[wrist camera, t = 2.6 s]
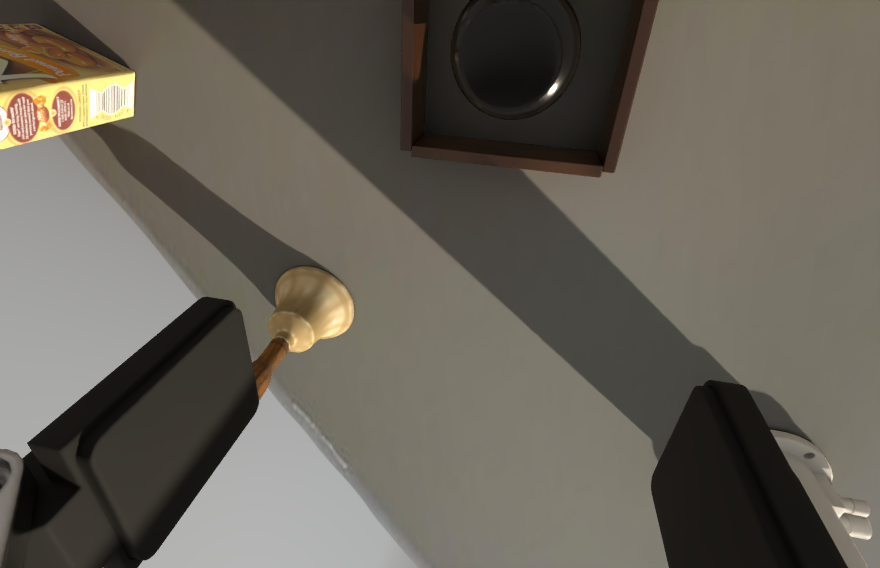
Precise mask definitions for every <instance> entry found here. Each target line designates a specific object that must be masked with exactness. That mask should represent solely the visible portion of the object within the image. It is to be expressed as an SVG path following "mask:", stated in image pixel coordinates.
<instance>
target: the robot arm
mask: <svg viewBox="0 0 880 568" xmlns="http://www.w3.org/2000/svg"><path fill="white" fill-rule="evenodd" d="M258 404H259V395H258V390H257V385H256V380H255V375H254V370H253V366H252V361H251V356H250V351H249V346H248V341H247V336H246V331H245V326H244V321H243V316H242V313H241V311H240V310H239V309H237V308H236V306H235V304H234V303H233V302H232V301H229V300H223V299H217V298H211V297H202V298H201V299H199V300H198V301H197V302H195V303H194V304H193V305H192V306H191V307H190V308H188V309H187V310H186V311H185V312H183V313H182V314H181V315H180V316H179V317H177V318H176V319H175V320H174V321H173V322H172V323H170V324H169V325H168V326H167V327H166V328H164V329H163V330H162V331H161V332H160V333H158V334H157V335H156V336H155V337H154V338H152V339H151V340H150V341H149V342H148V343H147V344H145V345H144V346H143V347H142V348H141V349H139V350H138V351H137V352H136V353H134V354H133V355H132V356H131V357H130V358H128V359H127V360H126V361H125V362H124V363H122V364H121V365H120V366H119V367H118V368H116V369H115V370H114V371H113V372H112V373H111V374H109V375H108V376H107V377H106V378H104V380H102V381H101V382H100V383H98V384H97V385H96V386H95V387H94V388H93V389H91V390H90V391H89V392H88V393H87V394H85V395H84V396H83V397H82V398H81V399H79V400H78V401H77V402H76V403H75V404H73V405H72V406H71V407H70V408H69V409H67V410H66V411H65V412H64V413H63V414H61V415H60V416H59V417H58V418H57V419H55V420H54V421H53V422H52V423H51V424H50V425H48V426H47V427H46V428H45V429H43V430H42V431H41V432H40V433H39V434H37V435H36V436H35V437H34V438H33V439H31V440H30V441H29V442H28V443H27V444H28V445H29V447H30V449H31V450H32V451H31V452H30V453H29V454H27V455H26V456H25V457H24V458H23V459H22V458H21V457H20V456H19V454H18V453H16V452H13V451H10V450H7V449H0V568H137V567H138V566H139V565H140V564H141V562H142V561H143V560H147V559H149V558H151V557H152V556H153V555H154V554H155V553H156V552H157V550H158V549H159V548H160V546H161V545H162V543H163V542H164V541H165V539H166V538H167V536H168V535H169V534H170V532H171V531H172V529H173V528H174V527H175V525H176V524H177V522H178V521H179V520H180V518H181V517H182V515H183V514H184V512H185V511H186V510H187V508H188V507H189V506H190V504H191V503H192V501H193V500H194V498H195V497H196V496H197V494H198V493H199V492H200V490H201V489H202V487H203V486H204V484H205V483H206V482H207V480H208V479H209V478H210V476H211V475H212V473H213V472H214V470H215V469H216V468H217V466H218V465H219V464H220V462H221V461H222V459H223V458H224V457H225V455H226V454H227V452H228V451H229V450H230V448H231V447H232V445H233V444H234V443H235V441H236V440H237V438H238V437H239V436H240V434H241V433H242V431H243V430H244V428H245V427H246V426H247V424H248V423H249V422H250V420H251V419H252V417H253V416H254V414H255V413H256V411H257V408H258ZM832 479H833V475H832V469H831V467H830V465H829V463H828V461H827V460H826V458H825V456H824V455H823V454H822V453H821V451H820V450H819V449H818V448H817V447H816V446H814V445H813V444H812V443H811V442H809V441H807V440H805V439H803V438H801V437H799V436H796V435H793V434H790V433H787V432H782V431H776V430H770V429H769V427H768V425H767V423H766V421H765V420H764V418H763V416H762V414H761V412H760V411H759V409H758V407H757V405H756V403H755V402H754V400H753V398H752V396H751V394H750V392H749V391H748V389H747V388H746V387H745V386H743V385H739V384H733V383H727V382H721V381H715V380H708V381H707V382H705V384H704V385H703V386H696V387H695V388H694V389H693V391H692V393H691V395H690V397H689V399H688V401H687V403H686V405H685V407H684V410H683V412H682V414H681V416H680V418H679V420H678V422H677V424H676V426H675V429H674V431H673V433H672V435H671V437H670V439H669V441H668V443H667V445H666V448H665V450H664V452H663V454H662V456H661V458H660V460H659V462H658V464H657V466H656V469H655V471H654V473H653V476H652V481H651V491H652V496H653V500H654V505H655V509H656V513H657V518H658V522H659V526H660V531H661V535H662V539H663V544H664V548H665V552H666V556H667V561H668V565H669V568H869V567H868V566H867V564H866V562H865V561H864V559H863V557H862V555H861V554H860V552H859V550H858V549H857V547H856V545H855V544H854V542H853V540H852V539H851V537H850V536H852V537H857V538H862V539H869V538H871V536H872V533H873V532H872V526H871V524H870V522H869V521H868V519H867V518H865V517H867V516H869V514H870V507H869V505H868V503H867V502H866V501H862V500H857V499H852V498H843V497H840V496H839V495H838V494H837V493H836V492H835V491H834V489H833V487H832V486H831V485H832ZM844 512H847V513H849V514H847V513H844ZM852 514H853V515H852ZM857 515H858V516H857ZM862 516H863V517H862Z"/></svg>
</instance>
